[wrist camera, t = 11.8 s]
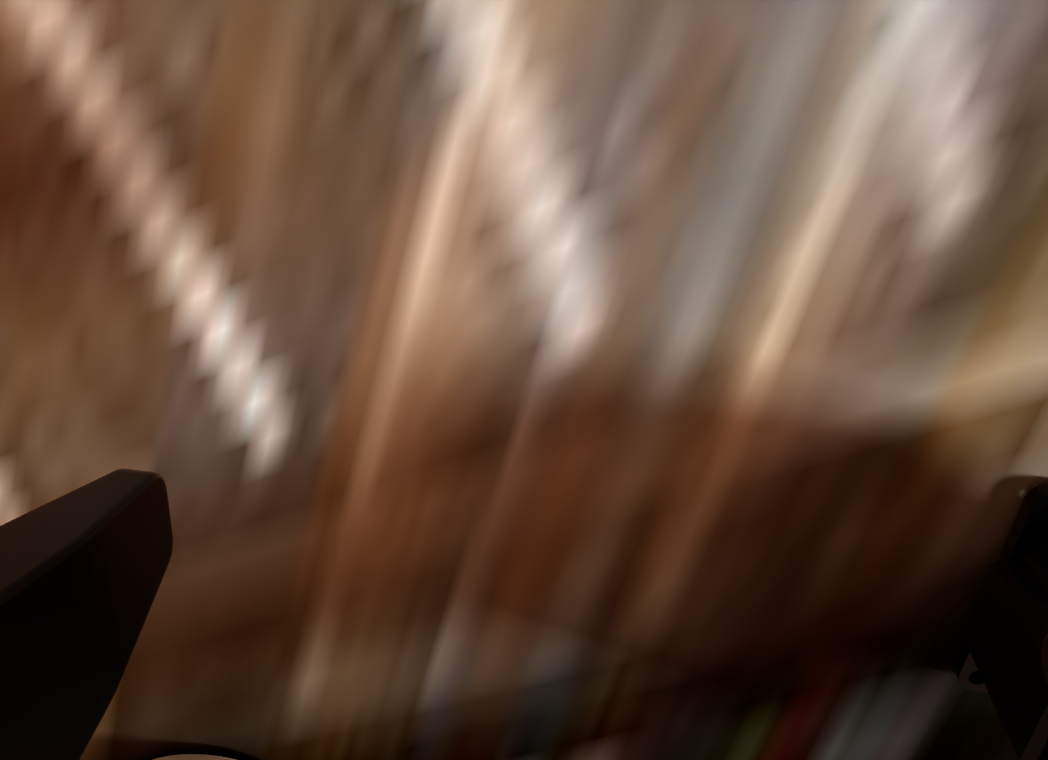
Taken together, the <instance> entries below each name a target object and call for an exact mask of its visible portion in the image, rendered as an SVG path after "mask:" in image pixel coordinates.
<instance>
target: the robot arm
mask: <svg viewBox="0 0 1048 760" xmlns="http://www.w3.org/2000/svg"><path fill="white" fill-rule="evenodd" d="M1047 503H1048V483H1044V484H1041V485H1038V486H1036V487H1034V488H1033V489H1031V490H1030V491H1029V492H1028V493H1027V495H1026V496H1025V498H1024V500H1023V503H1022V505H1021V508H1020V510H1019V512H1018V515H1017V517H1016V519H1015V522H1014V524H1013V527H1012V529H1011V531H1010V534H1009V536H1008V538H1007V541H1006V543H1005V546H1004V548H1003V550H1002V553H1001V555H1000V557H999V558H998V559H997V560H996V561H995V562H994V563H993V564H992V565H991V567H990V570H989V572H988V574H987V577H986V579H985V582H984V584H983V586H982V589H981V591H980V594H979V596H978V598H977V601H976V603H975V605H974V608H973V610H972V613H971V615H970V617H969V620H968V622H967V625H966V627H965V629H964V632H963V638H964V640H965V641H964V643H963V645H962V648H961V650H960V652H959V655H958V657H957V660H956V662H955V665H954V670H955V673H956V675H957V677H958V680H959V682H960V684H961V686H963V687H964V688H965V689H968V690H972V691H979V692H987V693H989V695H990V697H991V699H992V701H993V704H994V706H995V708H996V710H997V712H998V714H999V717H1000V719H1001V721H1002V723H1003V725H1004V728H1005V730H1006V732H1007V734H1008V736H1009V738H1010V741H1011V743H1012V745H1013V747H1014V749H1015V752H1016V754H1017V756H1018V758H1019V759H1020V760H1048V508H1044V509H1042V508H1043V506H1044V505H1045V504H1047ZM172 548H173V533H172V526H171V518H170V510H169V503H168V495H167V488H166V484H165V481H164V479H163V477H162V476H161V475H159V474H158V473H156V472H150V471H141V470H133V469H118V470H116V471H114V472H111V473H109V474H107V475H105V476H103V477H101V478H99V479H97V480H95V481H93V482H91V483H89V484H87V485H84V486H82V487H80V488H78V489H76V490H74V491H72V492H70V493H68V494H66V495H64V496H62V497H60V498H58V499H55V500H53V501H51V502H49V503H47V504H45V505H43V506H41V507H39V508H37V509H35V510H33V511H31V512H28V513H26V514H24V515H22V516H20V517H18V518H16V519H14V520H12V521H10V522H8V523H6V524H4V525H1V526H0V760H79V759H80V757H81V756H82V754H83V752H84V750H85V748H86V746H87V745H88V743H89V741H90V739H91V737H92V735H93V734H94V732H95V730H96V728H97V726H98V725H99V723H100V721H101V719H102V717H103V715H104V713H105V711H106V710H107V708H108V706H109V704H110V702H111V700H112V698H113V696H114V694H115V692H116V690H117V687H118V685H119V683H120V681H121V678H122V676H123V674H124V672H125V669H126V667H127V664H128V662H129V659H130V657H131V654H132V652H133V650H134V647H135V645H136V642H137V640H138V637H139V635H140V632H141V630H142V627H143V625H144V623H145V620H146V618H147V615H148V613H149V610H150V608H151V605H152V603H153V601H154V598H155V596H156V593H157V591H158V588H159V586H160V583H161V581H162V578H163V576H164V574H165V571H166V569H167V566H168V564H169V561H170V558H171V554H172ZM974 671H978V672H976V673H972V672H974Z"/></svg>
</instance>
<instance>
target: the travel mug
mask: <svg viewBox="0 0 1048 760" xmlns="http://www.w3.org/2000/svg"><path fill="white" fill-rule="evenodd" d="M153 760H236V759H231V758H226V757H221V756H214V755H204V754H180V755H171V756H165V757H160V758H156V759H153Z"/></svg>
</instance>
